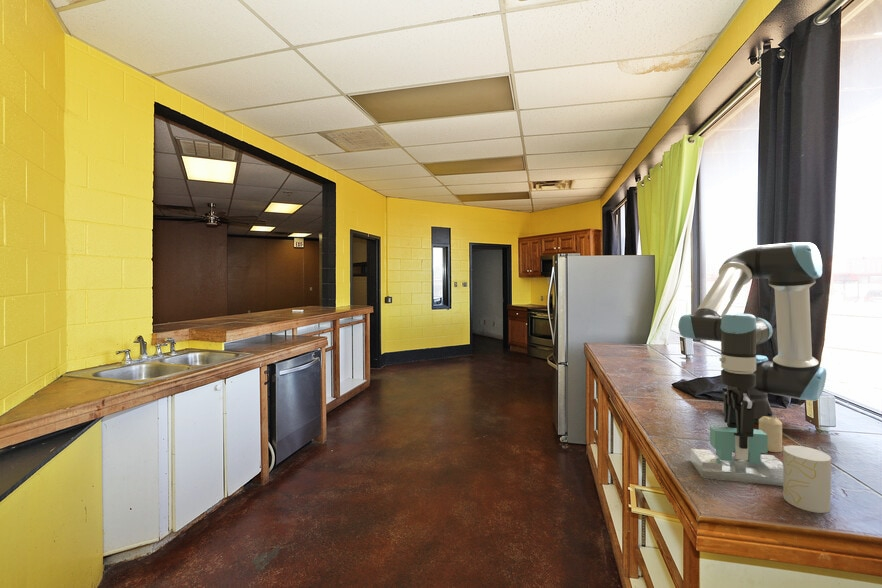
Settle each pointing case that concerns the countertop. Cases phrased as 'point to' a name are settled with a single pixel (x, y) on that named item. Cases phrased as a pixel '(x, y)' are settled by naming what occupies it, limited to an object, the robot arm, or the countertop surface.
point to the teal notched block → (725, 443)
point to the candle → (772, 432)
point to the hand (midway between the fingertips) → (737, 455)
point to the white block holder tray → (738, 468)
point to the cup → (807, 478)
